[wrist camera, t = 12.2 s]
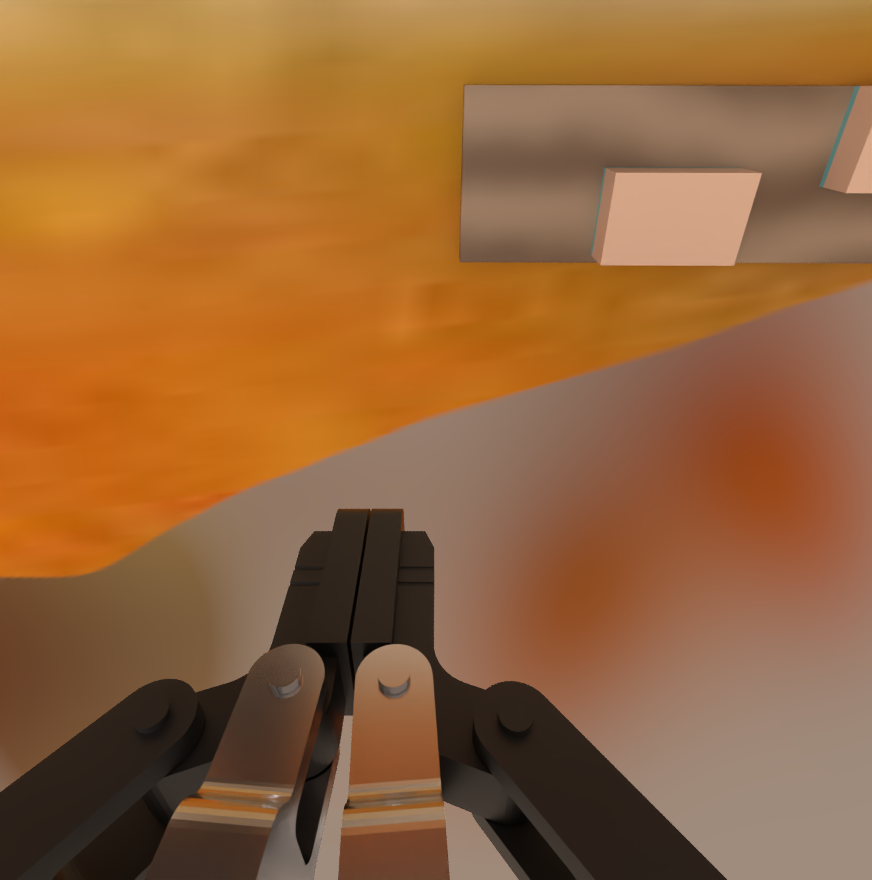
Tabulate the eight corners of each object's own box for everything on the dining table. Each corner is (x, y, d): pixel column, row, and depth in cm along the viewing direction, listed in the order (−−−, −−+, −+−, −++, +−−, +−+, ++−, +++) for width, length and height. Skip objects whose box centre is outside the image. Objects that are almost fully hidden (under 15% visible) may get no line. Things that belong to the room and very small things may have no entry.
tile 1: (616, 172, 29) (762, 173, 29) (604, 167, 31) (740, 167, 31) (600, 265, 32) (734, 265, 32) (590, 254, 34) (715, 254, 34)
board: (463, 85, 30) (464, 85, 29) (959, 86, 30) (977, 86, 29) (459, 257, 35) (459, 262, 34) (882, 258, 35) (895, 263, 34)
